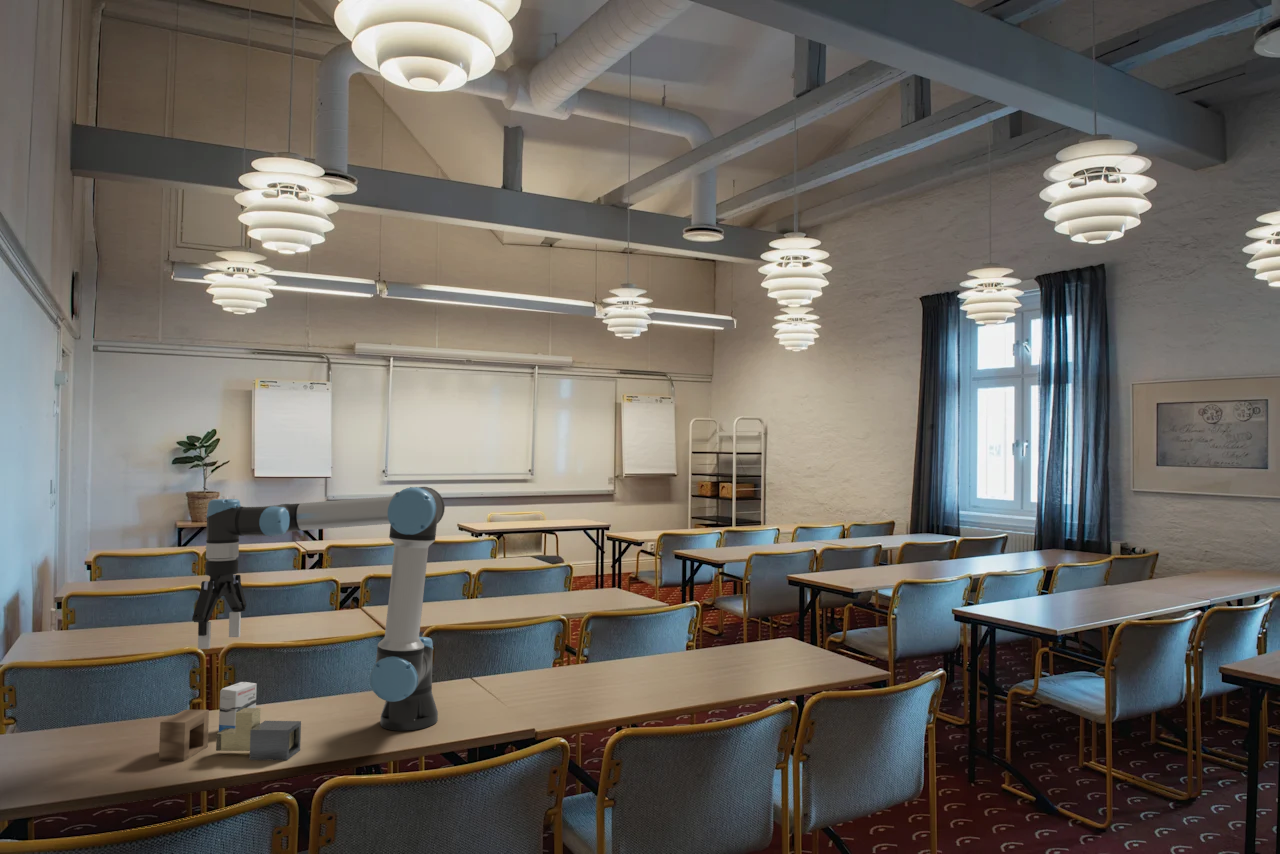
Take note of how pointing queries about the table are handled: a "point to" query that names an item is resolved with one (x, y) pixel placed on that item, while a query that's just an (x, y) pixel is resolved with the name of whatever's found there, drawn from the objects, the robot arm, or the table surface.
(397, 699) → the robot arm
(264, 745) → the sleeve
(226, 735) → the l-shaped notched block
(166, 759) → the socket
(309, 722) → the table surface
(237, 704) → the ink box
